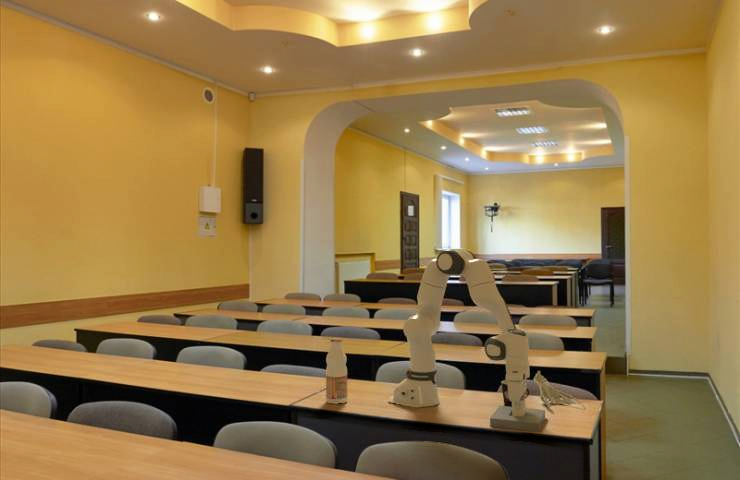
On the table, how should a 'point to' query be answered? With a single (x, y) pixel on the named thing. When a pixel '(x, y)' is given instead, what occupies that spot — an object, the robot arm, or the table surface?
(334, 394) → the fruit juice
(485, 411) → the table surface
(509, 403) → the coffee mug
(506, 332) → the robot arm
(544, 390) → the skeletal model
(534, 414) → the socket
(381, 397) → the table surface
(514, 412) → the toothpick box
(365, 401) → the table surface
